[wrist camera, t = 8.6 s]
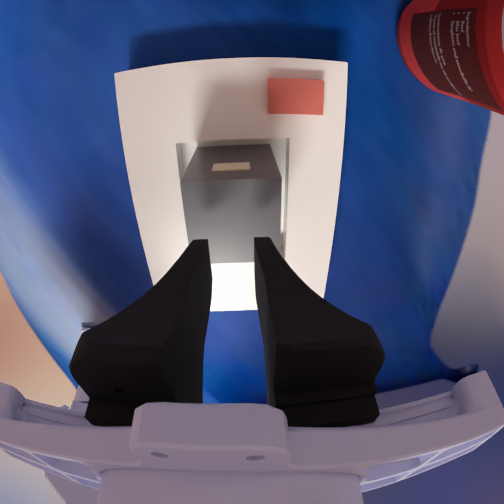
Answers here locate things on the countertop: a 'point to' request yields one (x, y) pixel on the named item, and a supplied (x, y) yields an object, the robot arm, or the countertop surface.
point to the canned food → (456, 48)
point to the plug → (232, 199)
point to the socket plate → (236, 133)
